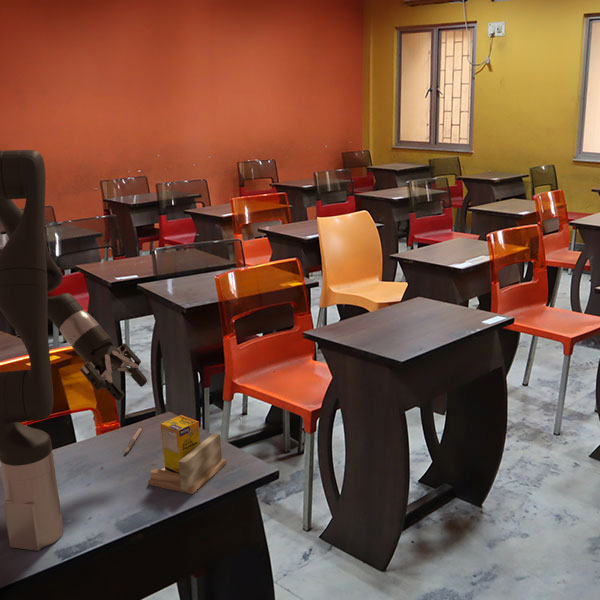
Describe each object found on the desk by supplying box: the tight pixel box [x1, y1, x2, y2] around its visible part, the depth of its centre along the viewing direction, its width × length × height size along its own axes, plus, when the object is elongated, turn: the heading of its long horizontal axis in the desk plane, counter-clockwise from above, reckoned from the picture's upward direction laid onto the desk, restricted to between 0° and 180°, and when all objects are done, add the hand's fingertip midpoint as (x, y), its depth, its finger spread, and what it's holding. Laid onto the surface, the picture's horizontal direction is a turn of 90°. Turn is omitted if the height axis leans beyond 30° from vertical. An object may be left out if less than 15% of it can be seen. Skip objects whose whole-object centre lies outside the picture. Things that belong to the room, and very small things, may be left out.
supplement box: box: [160, 414, 202, 474], centre depth 164 cm, size 6×6×11 cm
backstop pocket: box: [147, 432, 227, 495], centre depth 164 cm, size 14×11×7 cm
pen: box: [124, 425, 144, 454], centre depth 181 cm, size 1×14×1 cm, turn 176°
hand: (133, 391), depth 166 cm, fingers open, 7 cm apart
